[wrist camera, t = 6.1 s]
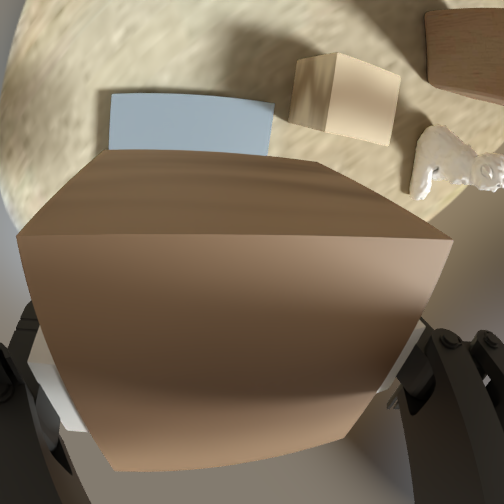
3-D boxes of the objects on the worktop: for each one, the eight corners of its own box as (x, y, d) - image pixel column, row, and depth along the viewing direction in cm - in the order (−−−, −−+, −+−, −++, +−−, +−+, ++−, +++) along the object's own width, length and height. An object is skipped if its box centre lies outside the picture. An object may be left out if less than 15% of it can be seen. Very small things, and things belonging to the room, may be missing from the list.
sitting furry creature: (406, 200, 33) (480, 245, 23) (395, 134, 28) (482, 164, 18) (452, 173, 33) (521, 207, 23) (445, 113, 28) (524, 136, 18)
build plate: (115, 94, 20) (111, 93, 19) (269, 103, 24) (274, 103, 22) (114, 239, 26) (112, 246, 25) (249, 238, 30) (253, 245, 28)
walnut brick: (104, 149, 9) (16, 235, 3) (317, 162, 11) (453, 240, 6) (118, 329, 13) (114, 470, 7) (281, 321, 15) (343, 438, 9)
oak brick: (296, 60, 22) (337, 52, 16) (353, 75, 24) (400, 76, 18) (287, 122, 25) (324, 132, 19) (343, 132, 27) (388, 146, 21)
